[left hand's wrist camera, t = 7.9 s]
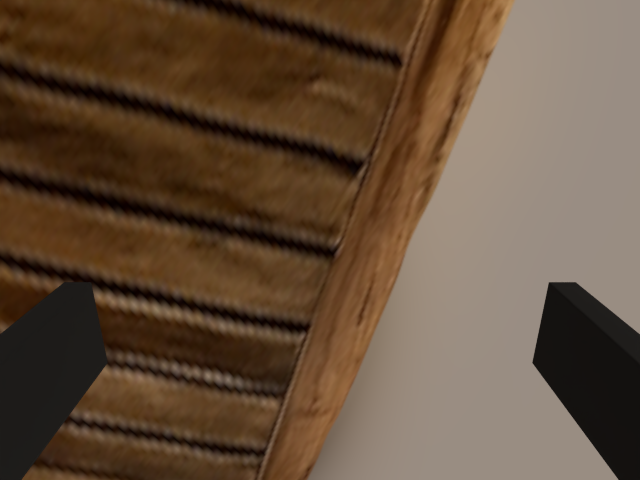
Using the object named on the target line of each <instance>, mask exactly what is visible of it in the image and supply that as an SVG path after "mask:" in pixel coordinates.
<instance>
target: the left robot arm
mask: <svg viewBox="0 0 640 480" xmlns="http://www.w3.org/2000/svg"><path fill="white" fill-rule="evenodd" d="M106 364H107V358H106V353H105V348H104V343H103V338H102V333H101V328H100V324H99V319H98V314H97V309H96V304H95V299H94V294H93V290H92V285H91V282H64V283H63V284H62V285H60V286H59V287H58V288H57V289H56V290H54V291H53V292H52V293H51V294H49V295H48V296H47V297H46V298H44V299H43V300H42V301H41V302H40V303H38V304H37V305H36V306H35V307H33V308H32V309H31V310H30V311H28V312H27V313H26V314H25V315H24V316H22V317H21V318H20V319H19V320H17V321H16V322H15V323H14V324H12V325H11V326H10V327H9V328H8V329H6V330H5V331H4V332H3V333H1V334H0V480H22V478H23V477H24V475H25V474H26V473H27V471H28V470H29V469H30V467H31V466H32V465H33V463H34V462H35V461H36V459H37V458H38V456H39V455H40V454H41V452H42V451H43V450H44V448H45V447H46V446H47V444H48V443H49V442H50V440H51V439H52V437H53V436H54V435H55V433H56V432H57V431H58V429H59V428H60V427H61V425H62V424H63V423H64V421H65V420H66V418H67V417H68V416H69V414H70V413H71V412H72V410H73V409H74V408H75V406H76V405H77V404H78V402H79V401H80V400H81V398H82V397H83V395H84V394H85V393H86V391H87V390H88V389H89V387H90V386H91V385H92V383H93V382H94V381H95V379H96V378H97V376H98V375H99V374H100V372H101V371H102V370H103V368H104V367H105V366H106ZM533 364H534V366H535V367H536V368H537V370H538V371H539V372H540V374H541V375H542V376H543V378H544V379H545V381H546V382H547V383H548V385H549V386H550V387H551V389H552V390H553V391H554V393H555V394H556V395H557V397H558V398H559V400H560V401H561V402H562V403H563V405H564V406H565V408H566V409H567V410H568V412H569V413H570V414H571V416H572V417H573V418H574V420H575V421H576V423H577V424H578V425H579V427H580V428H581V429H582V431H583V432H584V433H585V435H586V436H587V437H588V439H589V440H590V442H591V443H592V444H593V446H594V447H595V448H596V450H597V451H598V452H599V454H600V455H601V456H602V458H603V459H604V460H605V462H606V463H607V465H608V466H609V467H610V469H611V470H612V471H613V473H614V474H615V475H616V477H617V478H618V480H640V334H639V333H637V332H636V331H635V330H634V329H632V328H631V327H630V326H629V325H628V324H626V323H625V322H624V321H623V320H621V319H620V318H619V317H618V316H616V315H615V314H614V313H613V312H612V311H610V310H609V309H608V308H607V307H605V306H604V305H603V304H602V303H600V302H599V301H598V300H597V299H596V298H594V297H593V296H592V295H591V294H589V293H588V292H587V291H586V290H584V289H583V288H582V287H581V286H579V285H578V284H577V283H576V282H549V285H548V290H547V294H546V299H545V304H544V309H543V314H542V319H541V324H540V328H539V333H538V338H537V343H536V348H535V353H534V358H533Z"/></svg>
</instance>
